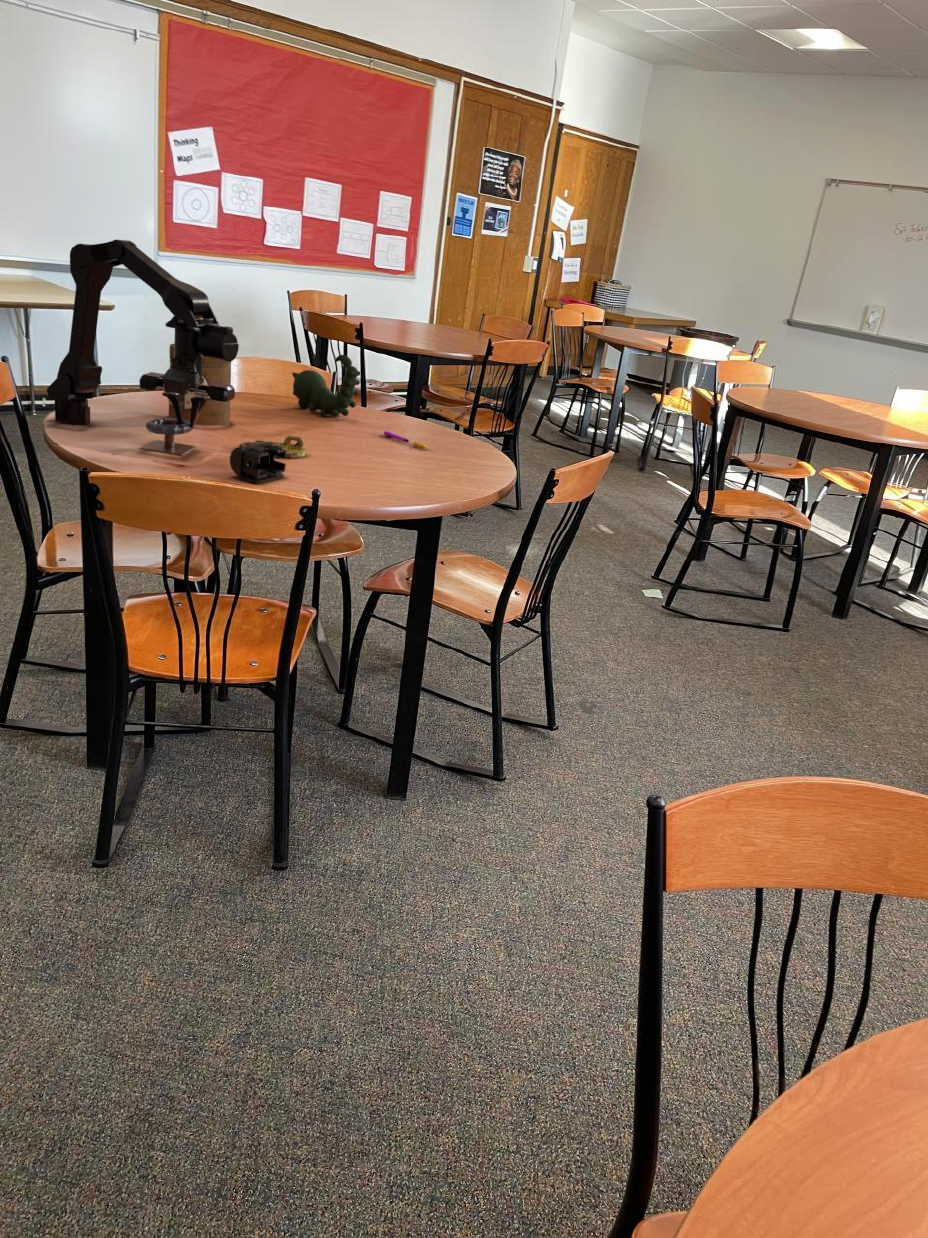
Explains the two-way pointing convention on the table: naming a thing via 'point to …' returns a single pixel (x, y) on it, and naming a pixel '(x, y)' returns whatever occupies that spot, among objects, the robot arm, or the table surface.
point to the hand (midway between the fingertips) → (186, 427)
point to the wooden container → (212, 409)
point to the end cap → (258, 462)
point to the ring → (168, 427)
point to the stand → (169, 444)
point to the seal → (285, 446)
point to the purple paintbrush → (404, 439)
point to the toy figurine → (326, 390)
